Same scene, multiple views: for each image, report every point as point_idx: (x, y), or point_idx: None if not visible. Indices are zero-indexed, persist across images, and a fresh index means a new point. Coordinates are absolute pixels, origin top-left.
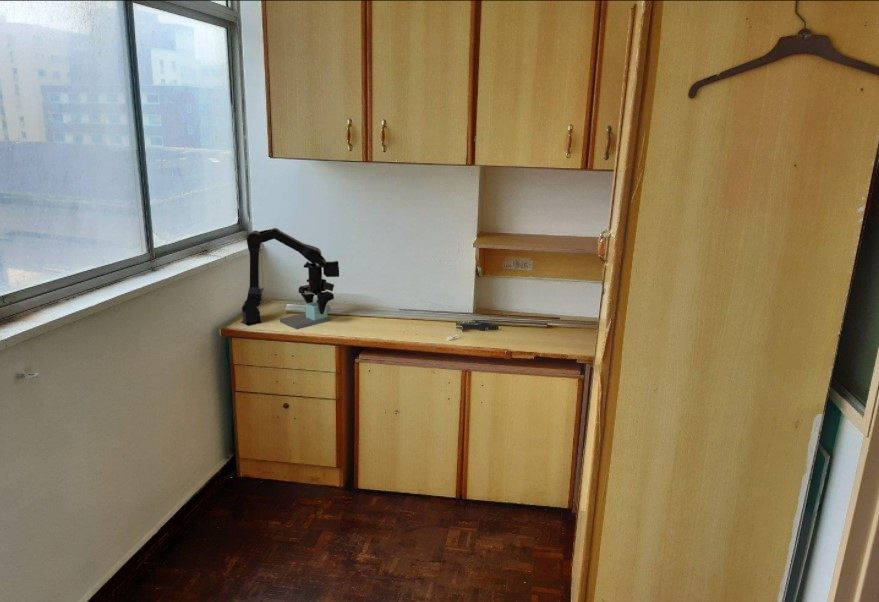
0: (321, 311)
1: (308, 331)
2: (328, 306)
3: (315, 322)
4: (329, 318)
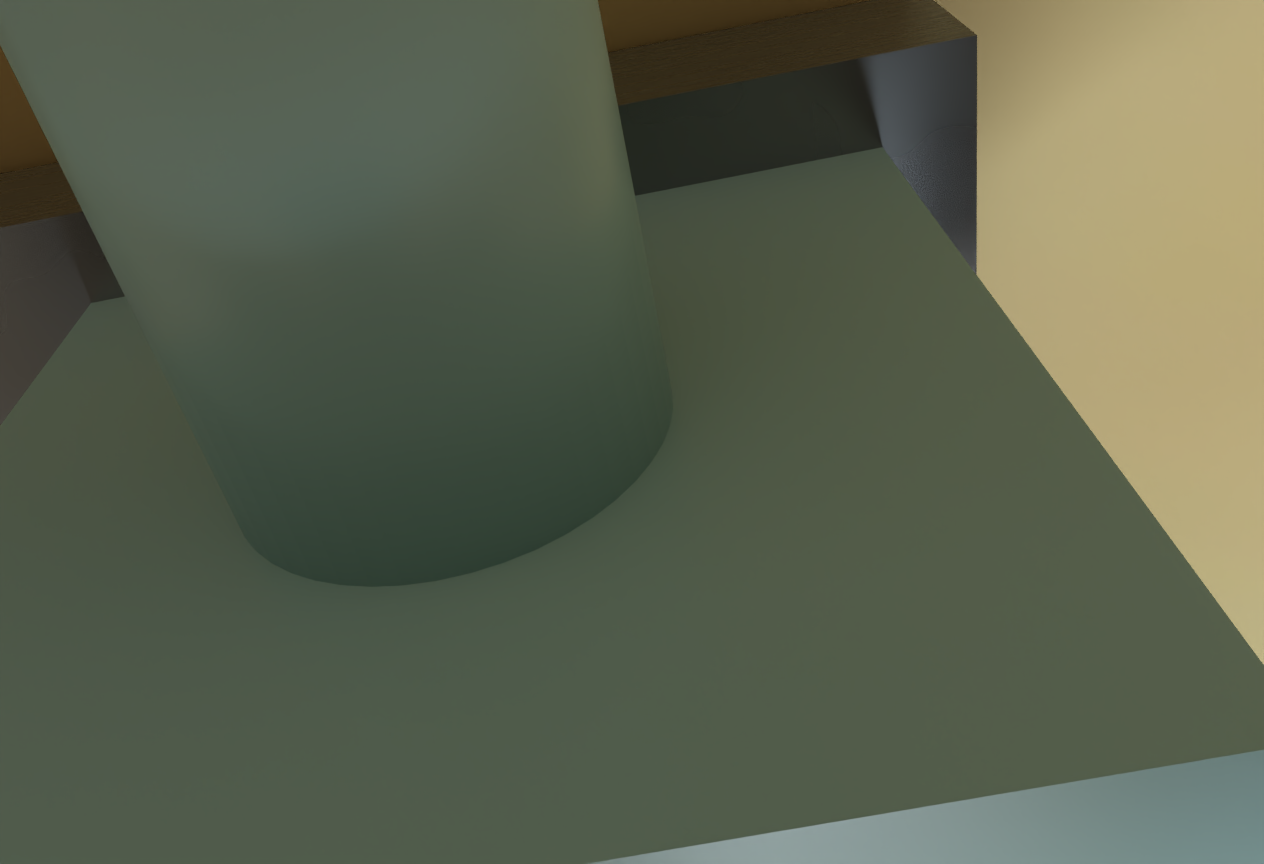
0: None
1: None
2: (500, 24)
3: None
4: (954, 45)
